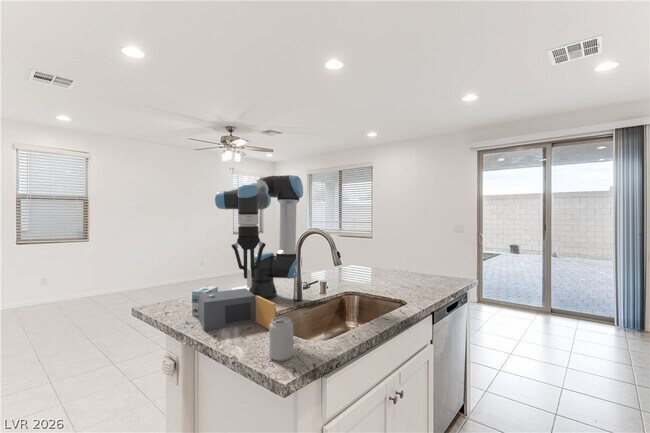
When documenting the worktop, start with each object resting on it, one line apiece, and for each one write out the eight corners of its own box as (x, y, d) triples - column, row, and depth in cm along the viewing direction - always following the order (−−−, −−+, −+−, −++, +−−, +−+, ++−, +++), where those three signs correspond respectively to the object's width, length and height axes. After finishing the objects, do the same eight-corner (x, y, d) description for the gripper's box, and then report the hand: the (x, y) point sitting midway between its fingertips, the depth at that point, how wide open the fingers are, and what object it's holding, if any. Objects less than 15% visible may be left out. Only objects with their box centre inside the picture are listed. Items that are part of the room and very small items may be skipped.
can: (264, 360, 98) (264, 321, 97) (276, 350, 105) (276, 314, 104) (286, 364, 95) (286, 324, 95) (297, 353, 102) (297, 316, 102)
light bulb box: (205, 316, 137) (205, 292, 136) (191, 315, 138) (191, 291, 138) (218, 309, 147) (218, 286, 147) (205, 308, 148) (205, 285, 148)
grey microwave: (248, 312, 143) (248, 286, 143) (258, 321, 131) (258, 294, 131) (198, 319, 133) (198, 292, 133) (204, 331, 120) (204, 301, 120)
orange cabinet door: (254, 321, 130) (254, 295, 130) (258, 320, 132) (258, 294, 131) (272, 331, 119) (272, 304, 119) (277, 330, 120) (277, 303, 120)
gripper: (231, 226, 115) (232, 290, 116) (267, 225, 119) (267, 287, 120) (230, 225, 122) (230, 285, 123) (264, 224, 126) (264, 282, 127)
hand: (249, 286), depth 122 cm, fingers closed
